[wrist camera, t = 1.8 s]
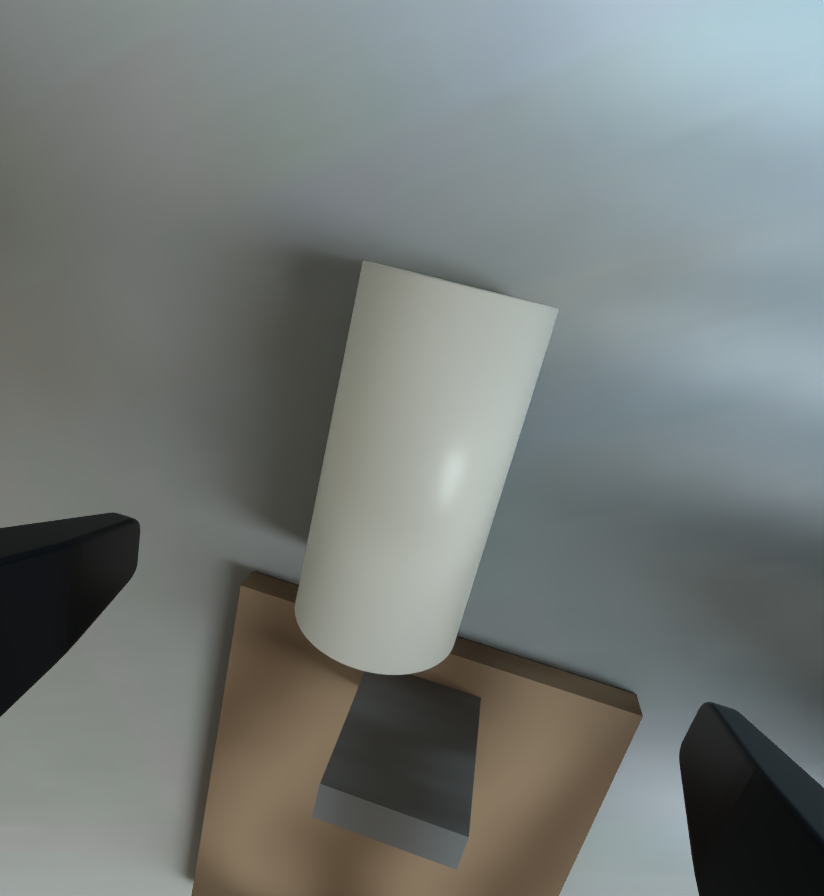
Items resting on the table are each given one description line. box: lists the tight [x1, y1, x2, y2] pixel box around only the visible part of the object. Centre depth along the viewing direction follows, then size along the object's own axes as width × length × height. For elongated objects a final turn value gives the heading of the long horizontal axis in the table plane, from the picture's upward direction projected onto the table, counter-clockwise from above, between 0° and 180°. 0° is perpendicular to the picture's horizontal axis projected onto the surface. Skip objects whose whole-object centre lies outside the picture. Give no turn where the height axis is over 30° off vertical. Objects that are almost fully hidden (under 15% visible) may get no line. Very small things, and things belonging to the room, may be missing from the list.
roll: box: [295, 260, 559, 675], centre depth 15 cm, size 5×10×5 cm, turn 166°
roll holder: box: [192, 572, 643, 896], centre depth 19 cm, size 14×17×6 cm
